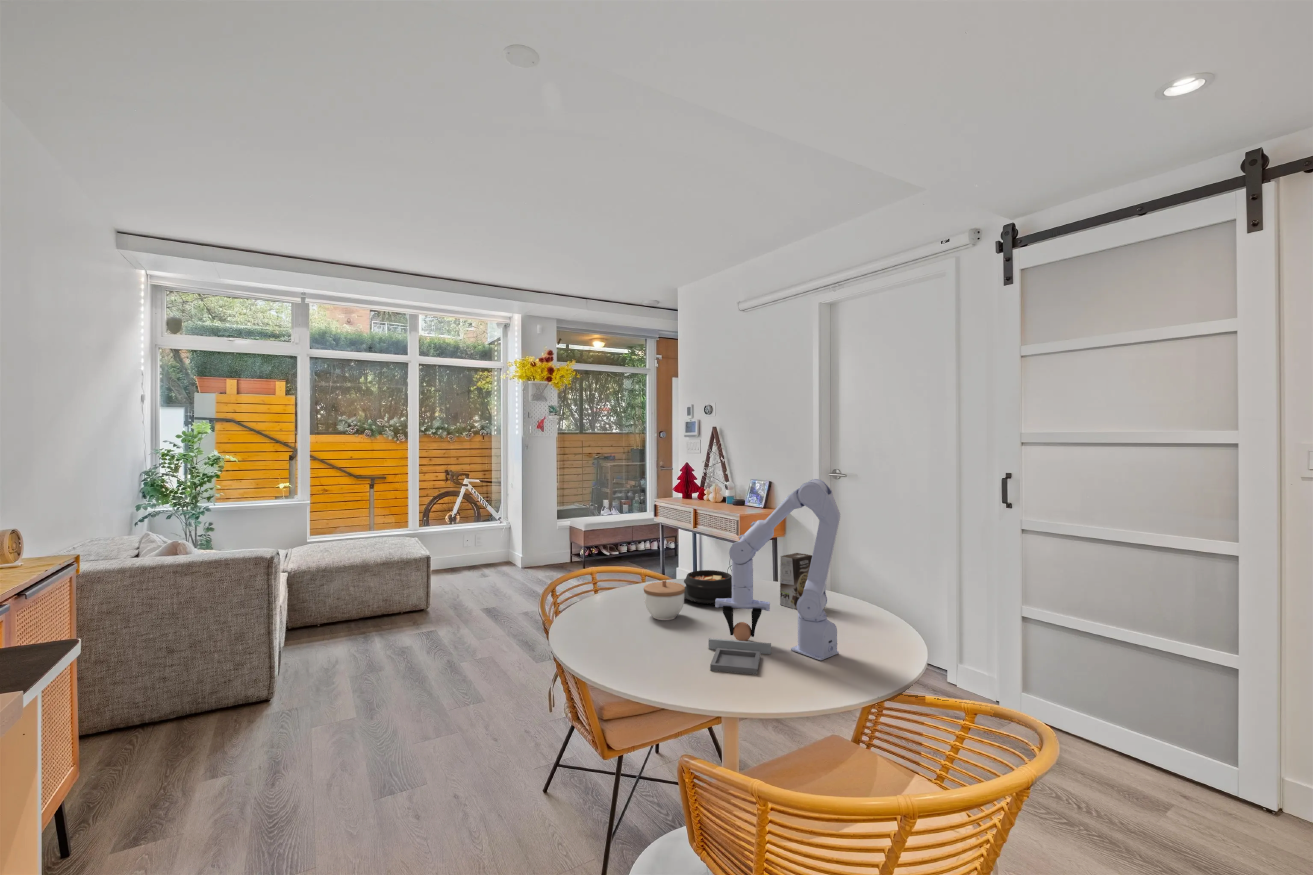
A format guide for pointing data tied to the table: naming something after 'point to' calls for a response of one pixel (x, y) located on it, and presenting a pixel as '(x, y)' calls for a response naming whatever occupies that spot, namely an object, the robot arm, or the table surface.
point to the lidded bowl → (664, 599)
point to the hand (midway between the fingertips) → (742, 634)
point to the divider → (740, 645)
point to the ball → (742, 631)
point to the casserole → (708, 586)
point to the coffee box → (793, 577)
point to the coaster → (735, 661)
